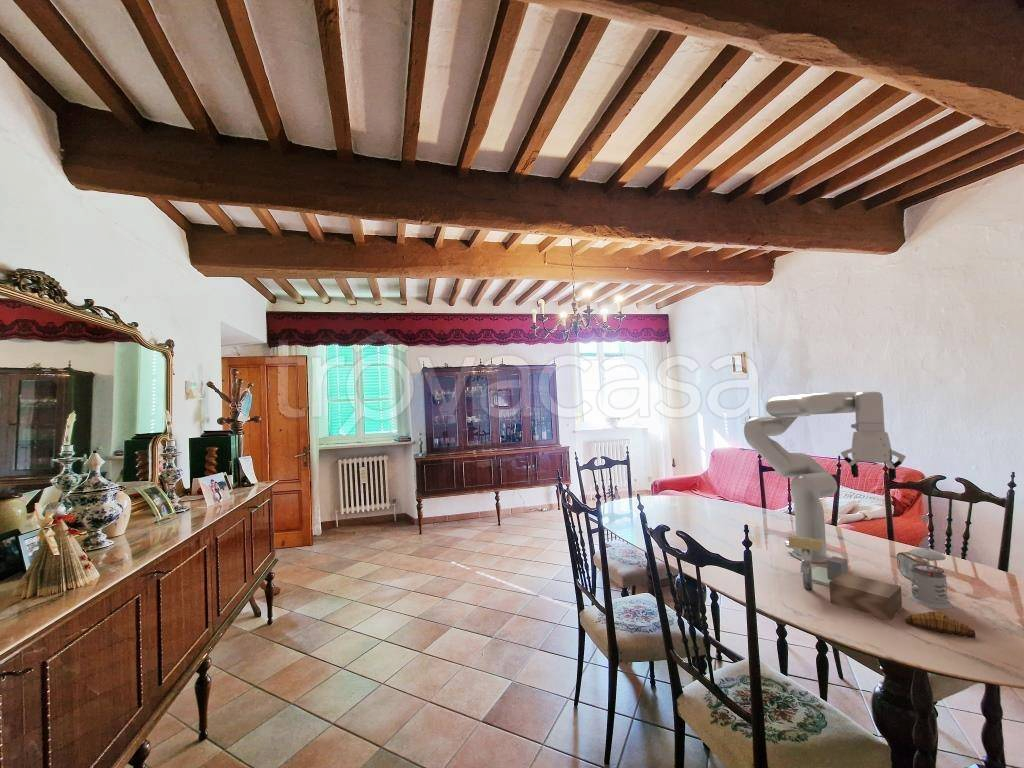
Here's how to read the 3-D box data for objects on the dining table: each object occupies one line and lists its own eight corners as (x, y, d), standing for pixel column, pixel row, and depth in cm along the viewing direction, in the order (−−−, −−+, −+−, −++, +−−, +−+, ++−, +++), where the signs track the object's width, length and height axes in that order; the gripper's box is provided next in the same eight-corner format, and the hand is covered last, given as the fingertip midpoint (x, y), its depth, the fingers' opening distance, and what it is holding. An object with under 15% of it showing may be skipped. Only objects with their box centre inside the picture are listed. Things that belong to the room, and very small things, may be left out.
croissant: (906, 629, 117) (905, 610, 117) (903, 619, 123) (902, 600, 123) (980, 644, 109) (978, 624, 109) (972, 632, 115) (971, 613, 115)
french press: (903, 600, 133) (898, 515, 134) (913, 589, 140) (908, 509, 141) (949, 611, 125) (943, 522, 126) (957, 599, 132) (951, 515, 133)
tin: (938, 591, 138) (936, 564, 139) (926, 591, 139) (924, 563, 139) (905, 573, 153) (904, 548, 153) (895, 572, 154) (893, 548, 154)
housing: (830, 602, 133) (829, 582, 133) (844, 591, 140) (843, 572, 140) (890, 620, 121) (889, 597, 122) (902, 607, 129) (900, 586, 129)
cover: (802, 580, 150) (801, 558, 150) (818, 570, 158) (817, 549, 159) (860, 596, 137) (859, 572, 138) (874, 584, 146) (873, 561, 146)
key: (791, 583, 147) (789, 534, 147) (825, 589, 141) (822, 539, 142) (788, 594, 138) (786, 543, 139) (823, 601, 133) (821, 548, 133)
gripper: (836, 427, 155) (838, 477, 155) (900, 429, 142) (903, 483, 141) (843, 426, 160) (846, 474, 159) (906, 428, 146) (909, 480, 145)
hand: (873, 478), depth 150 cm, fingers open, 9 cm apart
